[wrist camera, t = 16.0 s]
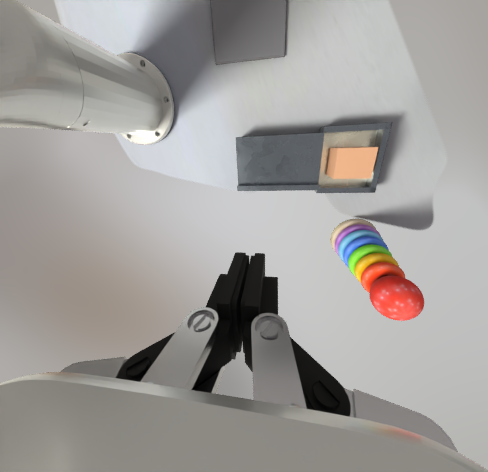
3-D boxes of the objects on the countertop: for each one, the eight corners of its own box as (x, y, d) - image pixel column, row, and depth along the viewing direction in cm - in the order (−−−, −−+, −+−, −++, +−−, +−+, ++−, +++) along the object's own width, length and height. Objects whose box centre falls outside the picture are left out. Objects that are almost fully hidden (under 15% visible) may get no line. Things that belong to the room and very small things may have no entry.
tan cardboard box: (333, 178, 28) (370, 178, 27) (338, 148, 26) (378, 147, 25) (325, 174, 32) (357, 173, 31) (329, 147, 30) (363, 146, 30)
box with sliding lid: (242, 190, 36) (237, 195, 32) (239, 132, 32) (234, 131, 28) (366, 188, 33) (379, 194, 29) (381, 124, 29) (398, 121, 25)
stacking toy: (345, 210, 35) (408, 270, 18) (384, 228, 35) (479, 303, 19) (321, 244, 39) (355, 320, 22) (356, 260, 39) (415, 347, 22)
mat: (216, 64, 29) (215, 63, 28) (210, -13, 25) (209, -15, 25) (284, 56, 27) (284, 55, 27) (287, -28, 24) (287, -30, 24)
